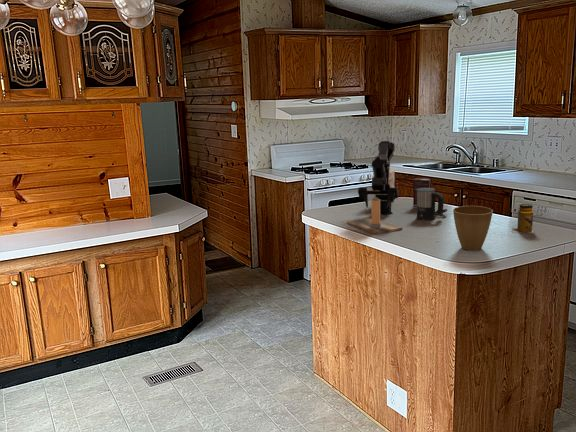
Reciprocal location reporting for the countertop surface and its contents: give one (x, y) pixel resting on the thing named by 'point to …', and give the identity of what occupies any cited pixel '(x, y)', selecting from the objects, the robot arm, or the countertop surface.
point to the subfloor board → (366, 225)
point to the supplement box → (416, 185)
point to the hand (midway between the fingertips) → (376, 207)
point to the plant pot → (472, 225)
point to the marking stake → (375, 213)
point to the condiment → (524, 219)
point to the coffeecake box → (391, 181)
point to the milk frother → (428, 203)
